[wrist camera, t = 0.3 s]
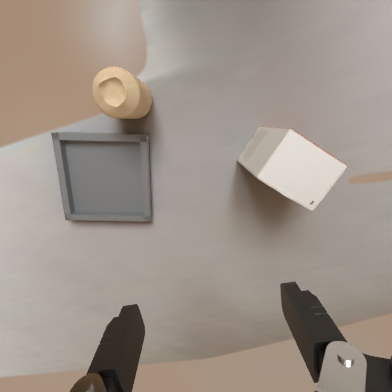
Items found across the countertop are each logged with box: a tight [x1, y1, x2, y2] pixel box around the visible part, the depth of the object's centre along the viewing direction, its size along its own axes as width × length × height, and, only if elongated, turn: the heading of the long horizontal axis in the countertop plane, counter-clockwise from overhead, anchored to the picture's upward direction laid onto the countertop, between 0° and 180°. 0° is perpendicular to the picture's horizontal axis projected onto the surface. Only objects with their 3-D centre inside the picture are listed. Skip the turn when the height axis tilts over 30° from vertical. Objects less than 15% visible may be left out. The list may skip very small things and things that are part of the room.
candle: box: [92, 67, 152, 119], centre depth 30 cm, size 6×6×10 cm
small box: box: [237, 127, 347, 211], centre depth 32 cm, size 8×6×13 cm
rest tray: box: [52, 132, 152, 222], centre depth 38 cm, size 14×14×2 cm
